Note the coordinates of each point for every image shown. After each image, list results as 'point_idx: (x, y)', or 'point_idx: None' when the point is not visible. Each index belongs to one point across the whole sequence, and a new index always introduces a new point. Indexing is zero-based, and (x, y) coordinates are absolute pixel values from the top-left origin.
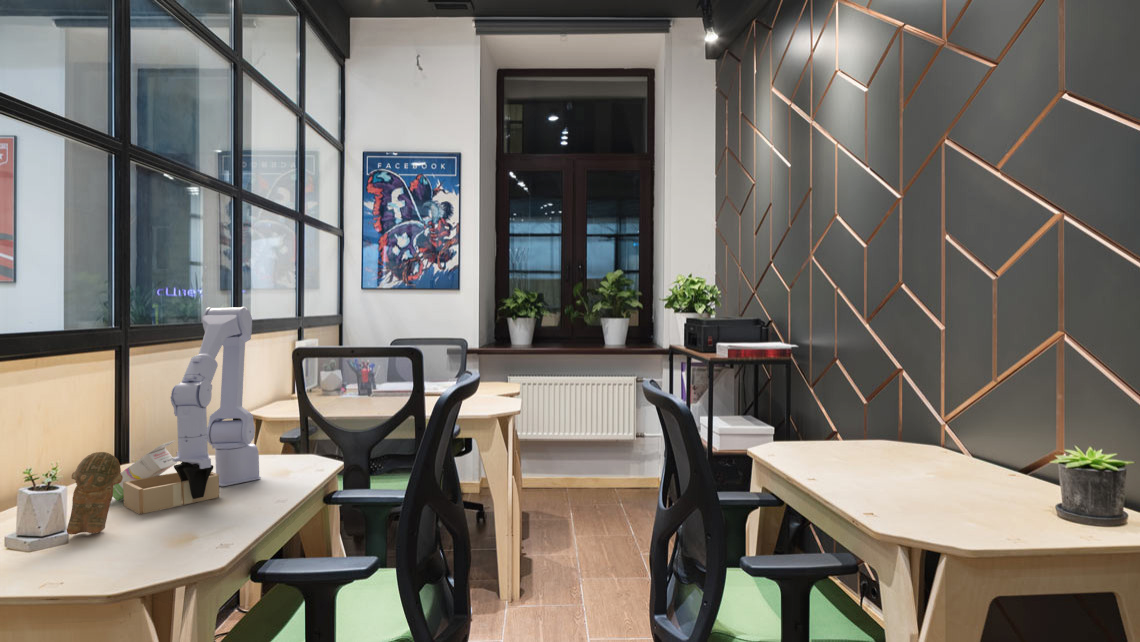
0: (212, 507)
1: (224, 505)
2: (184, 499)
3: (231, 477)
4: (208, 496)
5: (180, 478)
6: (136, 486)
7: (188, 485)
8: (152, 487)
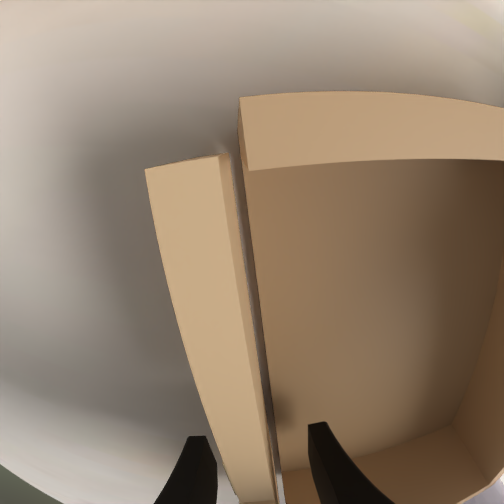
0: (119, 435)
1: (126, 459)
2: None
3: None
4: None
5: (371, 499)
6: (491, 142)
7: None
8: (218, 313)
